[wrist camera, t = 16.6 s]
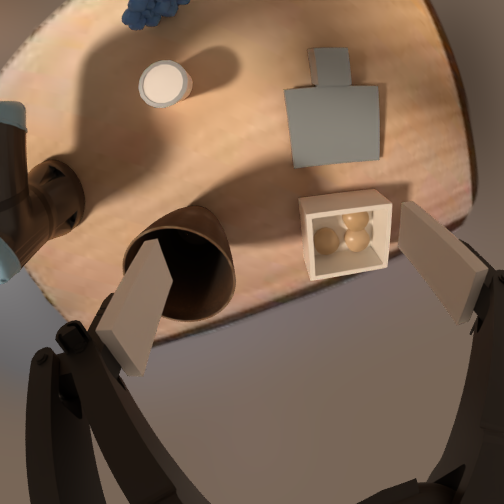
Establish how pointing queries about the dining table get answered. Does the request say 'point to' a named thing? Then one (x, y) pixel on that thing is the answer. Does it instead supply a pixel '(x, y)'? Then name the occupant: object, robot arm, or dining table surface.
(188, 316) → the plant pot
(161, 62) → the beige cup
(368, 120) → the lid
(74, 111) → the dining table surface
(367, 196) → the tub
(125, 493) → the robot arm
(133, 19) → the grapes
